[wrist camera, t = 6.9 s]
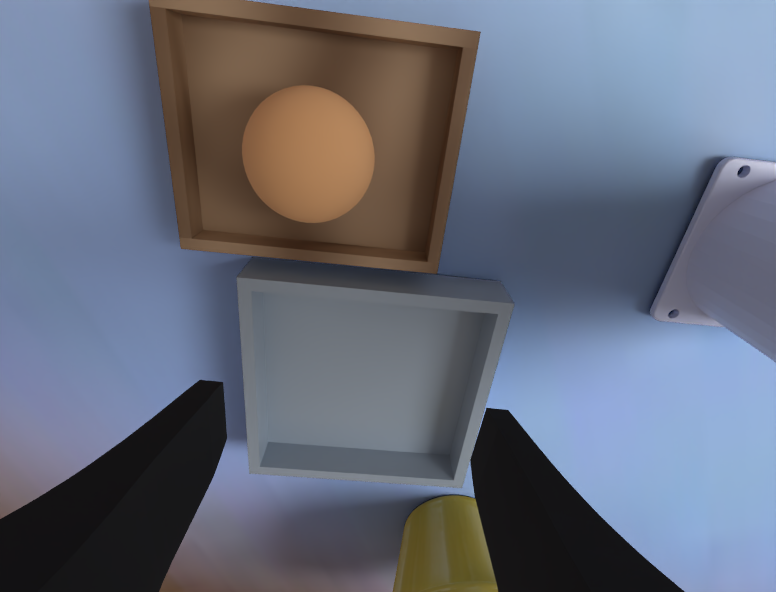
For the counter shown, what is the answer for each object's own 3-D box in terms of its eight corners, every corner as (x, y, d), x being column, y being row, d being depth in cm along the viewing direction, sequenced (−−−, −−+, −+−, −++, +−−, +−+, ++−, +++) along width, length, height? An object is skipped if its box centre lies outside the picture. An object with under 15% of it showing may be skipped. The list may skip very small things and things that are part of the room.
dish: (500, 281, 20) (514, 303, 18) (455, 454, 26) (461, 487, 23) (252, 256, 19) (236, 277, 17) (261, 440, 25) (249, 473, 23)
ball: (380, 93, 16) (380, 94, 11) (370, 210, 18) (367, 246, 14) (259, 79, 15) (215, 74, 11) (263, 199, 17) (228, 233, 13)
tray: (469, 38, 15) (480, 32, 14) (432, 257, 19) (436, 273, 18) (175, -1, 15) (146, -13, 13) (200, 233, 19) (180, 248, 17)
